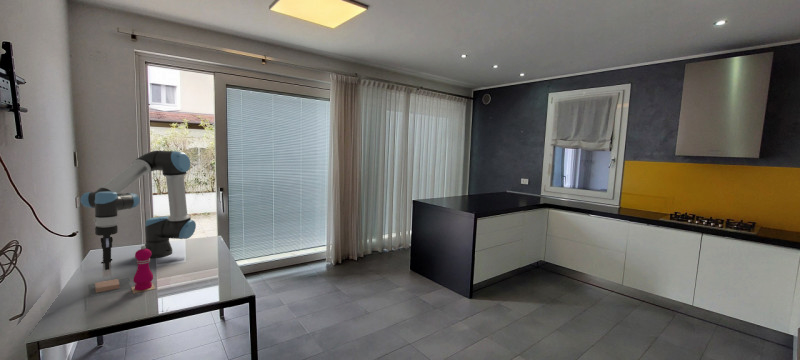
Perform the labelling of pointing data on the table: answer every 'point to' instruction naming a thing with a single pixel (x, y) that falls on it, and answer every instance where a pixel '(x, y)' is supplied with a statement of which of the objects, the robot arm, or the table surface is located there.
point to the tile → (107, 285)
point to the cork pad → (142, 290)
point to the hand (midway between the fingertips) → (107, 275)
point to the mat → (123, 286)
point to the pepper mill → (143, 269)
